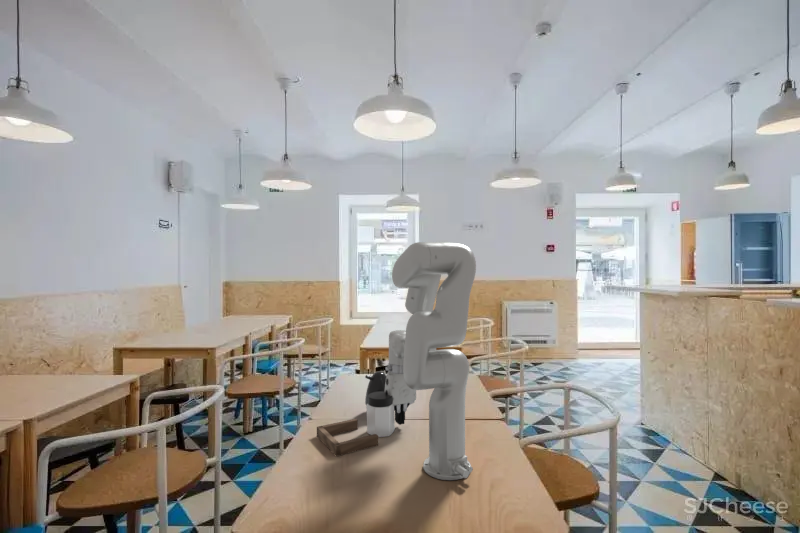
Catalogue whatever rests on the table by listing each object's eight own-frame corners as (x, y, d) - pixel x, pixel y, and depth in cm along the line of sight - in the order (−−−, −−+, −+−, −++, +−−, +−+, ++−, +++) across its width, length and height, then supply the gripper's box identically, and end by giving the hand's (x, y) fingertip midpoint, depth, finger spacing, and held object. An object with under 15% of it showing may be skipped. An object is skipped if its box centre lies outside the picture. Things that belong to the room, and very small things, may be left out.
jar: (399, 432, 133) (398, 395, 133) (379, 440, 128) (378, 401, 128) (382, 424, 140) (381, 389, 140) (362, 431, 135) (362, 394, 134)
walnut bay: (378, 445, 124) (378, 435, 124) (336, 456, 117) (336, 445, 117) (355, 427, 138) (355, 418, 138) (316, 436, 131) (316, 426, 131)
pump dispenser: (360, 410, 154) (360, 369, 154) (386, 406, 158) (386, 366, 158) (370, 420, 144) (370, 376, 144) (397, 415, 149) (397, 373, 149)
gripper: (385, 373, 130) (385, 431, 131) (425, 367, 138) (424, 422, 138) (374, 368, 137) (374, 423, 137) (413, 363, 144) (413, 415, 145)
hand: (399, 422), depth 138 cm, fingers closed
